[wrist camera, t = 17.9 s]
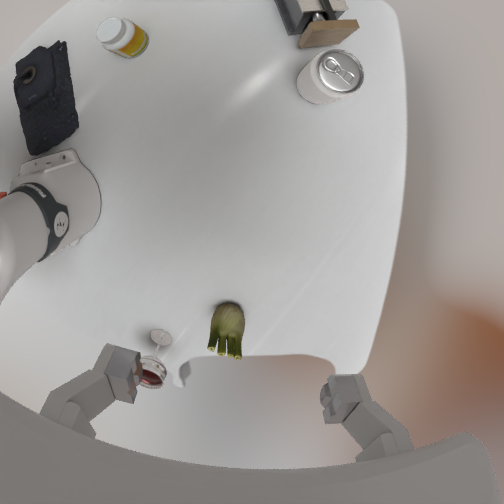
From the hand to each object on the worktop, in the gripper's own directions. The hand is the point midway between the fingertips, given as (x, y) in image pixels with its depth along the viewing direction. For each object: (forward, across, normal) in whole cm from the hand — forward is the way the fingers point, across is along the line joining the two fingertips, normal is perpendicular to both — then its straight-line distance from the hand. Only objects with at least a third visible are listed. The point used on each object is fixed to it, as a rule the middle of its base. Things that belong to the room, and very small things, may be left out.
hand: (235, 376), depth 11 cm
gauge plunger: (+33, -5, -28) cm, 44 cm away
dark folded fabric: (+36, +41, -14) cm, 56 cm away
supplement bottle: (+35, +22, -22) cm, 47 cm away
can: (+35, -8, -18) cm, 40 cm away
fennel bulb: (+35, -1, +24) cm, 43 cm away
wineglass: (+35, +13, +35) cm, 51 cm away
